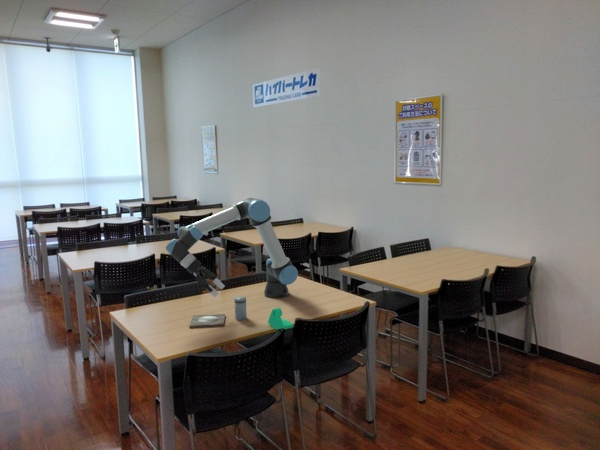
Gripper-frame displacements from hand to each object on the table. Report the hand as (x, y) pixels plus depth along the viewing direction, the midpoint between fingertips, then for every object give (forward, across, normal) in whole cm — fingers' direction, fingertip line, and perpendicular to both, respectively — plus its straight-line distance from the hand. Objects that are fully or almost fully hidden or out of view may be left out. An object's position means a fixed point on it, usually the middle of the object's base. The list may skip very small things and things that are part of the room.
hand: (220, 291), depth 242 cm
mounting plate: (+6, +6, -14) cm, 17 cm away
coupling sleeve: (+18, 0, -3) cm, 18 cm away
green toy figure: (+34, +12, +13) cm, 38 cm away
